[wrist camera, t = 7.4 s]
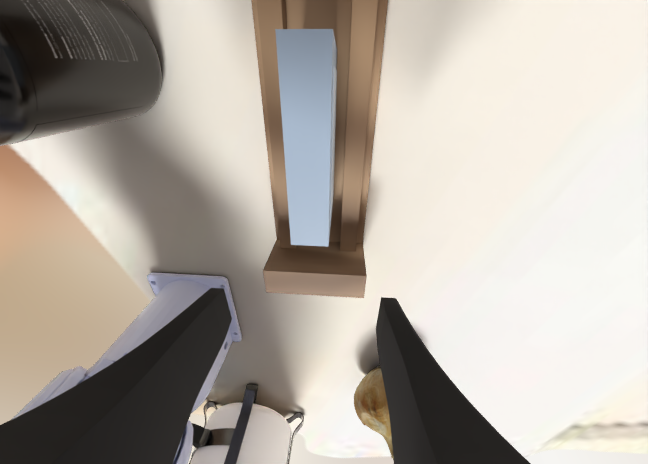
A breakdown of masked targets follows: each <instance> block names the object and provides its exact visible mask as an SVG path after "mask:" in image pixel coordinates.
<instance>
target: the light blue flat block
mask: <svg viewBox="0 0 648 464" xmlns="http://www.w3.org/2000/svg"><path fill="white" fill-rule="evenodd" d="M275 32H276V45H277V59H278V73H279V87H280V101H281V114H282V128H283V142H284V156H285V170H286V183H287V197H288V211H289V225H290V238H291V245H305V246H326V247H328V246H329V236H330V226H331V216H332V206H333V194H334V161H335V126H336V91H337V47H336V42H335V37H334V32H333V29H275Z"/></svg>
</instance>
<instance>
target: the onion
mask: <svg viewBox="0 0 648 464" xmlns="http://www.w3.org/2000/svg"><path fill="white" fill-rule="evenodd" d="M354 406H355V410H356V413H357V415H358V417H359V419H360V420H361V421H362V423H363V424H364V425H366V426H368V427H369V428H371V429H372V430H374V431H376V432H378V433H380V434H381V435H382V436H383V437H384V438H385V440H386V442H387V444H388V447H389V449H390V453H391V455H392V456H391V457H392V458H393V460H394V457H393V446H392V436H391V426H390V417H389V410H388V404H387V399H386V393H385V388H384V382H383V377H382V372H381V366H378V367H376V368H374V369H372V370H371V371H370V372H369V373H368V374H367V375H366V376H365V377H364V378H363V379H362V381H361V382H360V384H359V386H358V387H357V389H356V391H355V394H354Z"/></svg>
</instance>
